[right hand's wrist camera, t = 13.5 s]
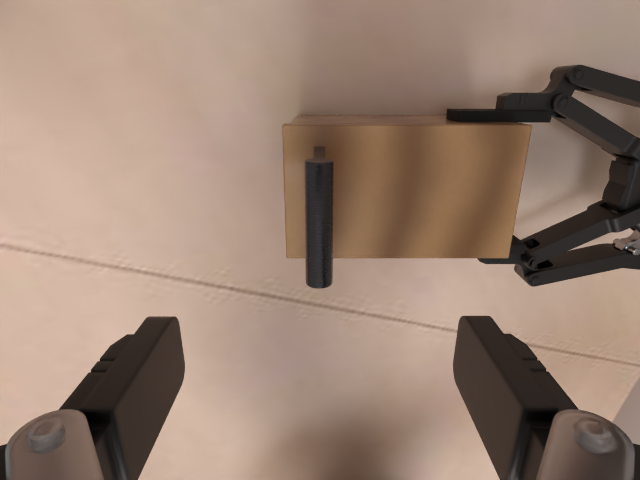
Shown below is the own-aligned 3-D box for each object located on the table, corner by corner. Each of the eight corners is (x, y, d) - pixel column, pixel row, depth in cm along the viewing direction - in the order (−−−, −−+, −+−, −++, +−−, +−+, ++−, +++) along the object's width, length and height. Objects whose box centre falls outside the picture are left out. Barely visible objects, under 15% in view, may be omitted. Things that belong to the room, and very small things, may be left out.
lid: (287, 253, 30) (276, 307, 23) (283, 123, 27) (269, 138, 19) (503, 253, 30) (563, 307, 23) (525, 123, 27) (604, 137, 19)
